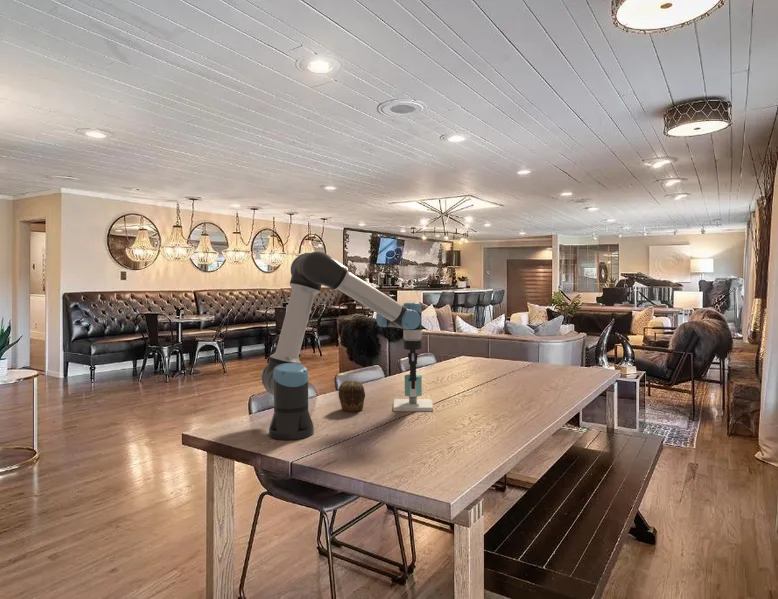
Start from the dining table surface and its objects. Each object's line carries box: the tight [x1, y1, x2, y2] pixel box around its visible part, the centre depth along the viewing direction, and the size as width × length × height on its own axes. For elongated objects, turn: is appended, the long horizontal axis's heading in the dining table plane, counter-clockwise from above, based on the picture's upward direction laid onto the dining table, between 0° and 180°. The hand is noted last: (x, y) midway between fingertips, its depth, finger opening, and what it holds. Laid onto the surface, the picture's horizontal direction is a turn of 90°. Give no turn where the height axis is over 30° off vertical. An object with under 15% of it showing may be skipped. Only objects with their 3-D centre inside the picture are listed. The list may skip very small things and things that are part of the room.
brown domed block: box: [338, 380, 366, 413], centre depth 206 cm, size 11×11×12 cm
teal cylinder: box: [403, 373, 423, 398], centre depth 211 cm, size 7×7×8 cm
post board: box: [392, 396, 434, 412], centre depth 211 cm, size 15×16×6 cm
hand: (413, 394), depth 211 cm, fingers closed on teal cylinder, 7 cm apart
